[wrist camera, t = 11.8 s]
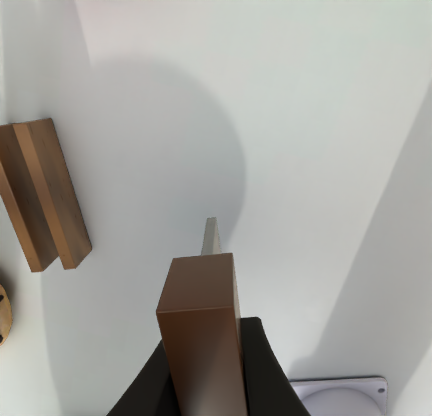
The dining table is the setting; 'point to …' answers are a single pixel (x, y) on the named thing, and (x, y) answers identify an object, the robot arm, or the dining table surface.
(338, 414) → the robot arm
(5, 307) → the donut
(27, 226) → the twin wooden slats
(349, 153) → the dining table surface
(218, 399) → the brown wooden chunk
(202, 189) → the dining table surface
